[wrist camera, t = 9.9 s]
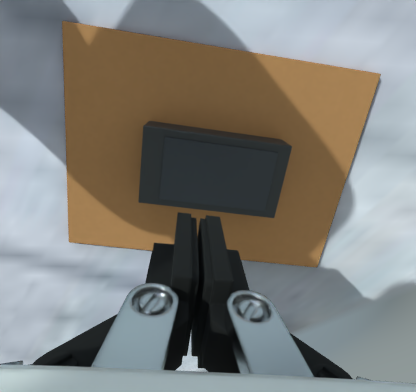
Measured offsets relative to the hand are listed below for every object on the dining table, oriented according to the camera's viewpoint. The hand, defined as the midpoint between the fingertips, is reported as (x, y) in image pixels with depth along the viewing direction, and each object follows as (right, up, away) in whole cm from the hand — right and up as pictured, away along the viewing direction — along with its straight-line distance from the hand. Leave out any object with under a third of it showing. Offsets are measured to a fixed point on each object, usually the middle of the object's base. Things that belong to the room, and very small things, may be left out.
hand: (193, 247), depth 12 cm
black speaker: (-5, +5, +11) cm, 13 cm away
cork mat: (+1, +5, +14) cm, 15 cm away
